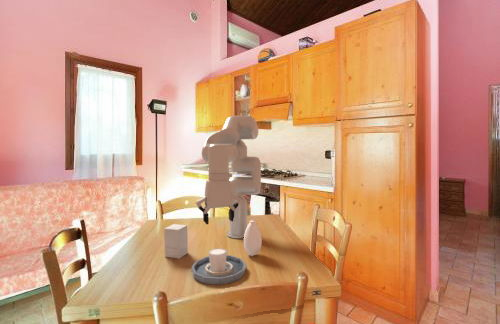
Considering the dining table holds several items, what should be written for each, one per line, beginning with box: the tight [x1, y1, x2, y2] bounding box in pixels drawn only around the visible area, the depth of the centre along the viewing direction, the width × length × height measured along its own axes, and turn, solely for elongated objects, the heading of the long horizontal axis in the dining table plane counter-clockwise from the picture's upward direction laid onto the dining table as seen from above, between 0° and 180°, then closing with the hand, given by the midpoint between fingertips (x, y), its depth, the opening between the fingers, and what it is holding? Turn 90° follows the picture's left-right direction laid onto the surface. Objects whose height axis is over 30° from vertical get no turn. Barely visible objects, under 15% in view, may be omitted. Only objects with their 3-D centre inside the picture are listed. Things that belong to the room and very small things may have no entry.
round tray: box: [191, 254, 247, 286], centre depth 103 cm, size 20×20×2 cm
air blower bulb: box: [243, 215, 263, 257], centre depth 118 cm, size 8×8×18 cm
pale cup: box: [208, 247, 228, 272], centre depth 103 cm, size 7×7×7 cm
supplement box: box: [163, 223, 189, 259], centre depth 118 cm, size 7×7×13 cm
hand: (219, 221), depth 102 cm, fingers open, 9 cm apart
